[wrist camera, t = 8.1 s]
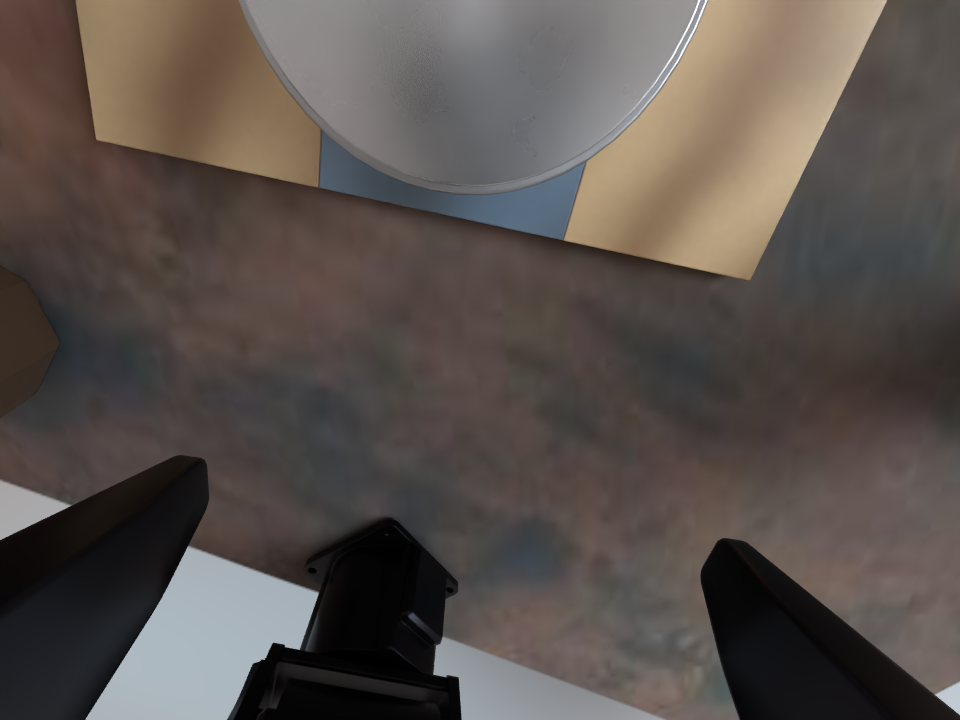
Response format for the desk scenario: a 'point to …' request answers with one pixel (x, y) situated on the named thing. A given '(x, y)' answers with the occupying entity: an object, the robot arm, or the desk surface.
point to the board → (537, 209)
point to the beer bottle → (22, 342)
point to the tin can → (473, 80)
